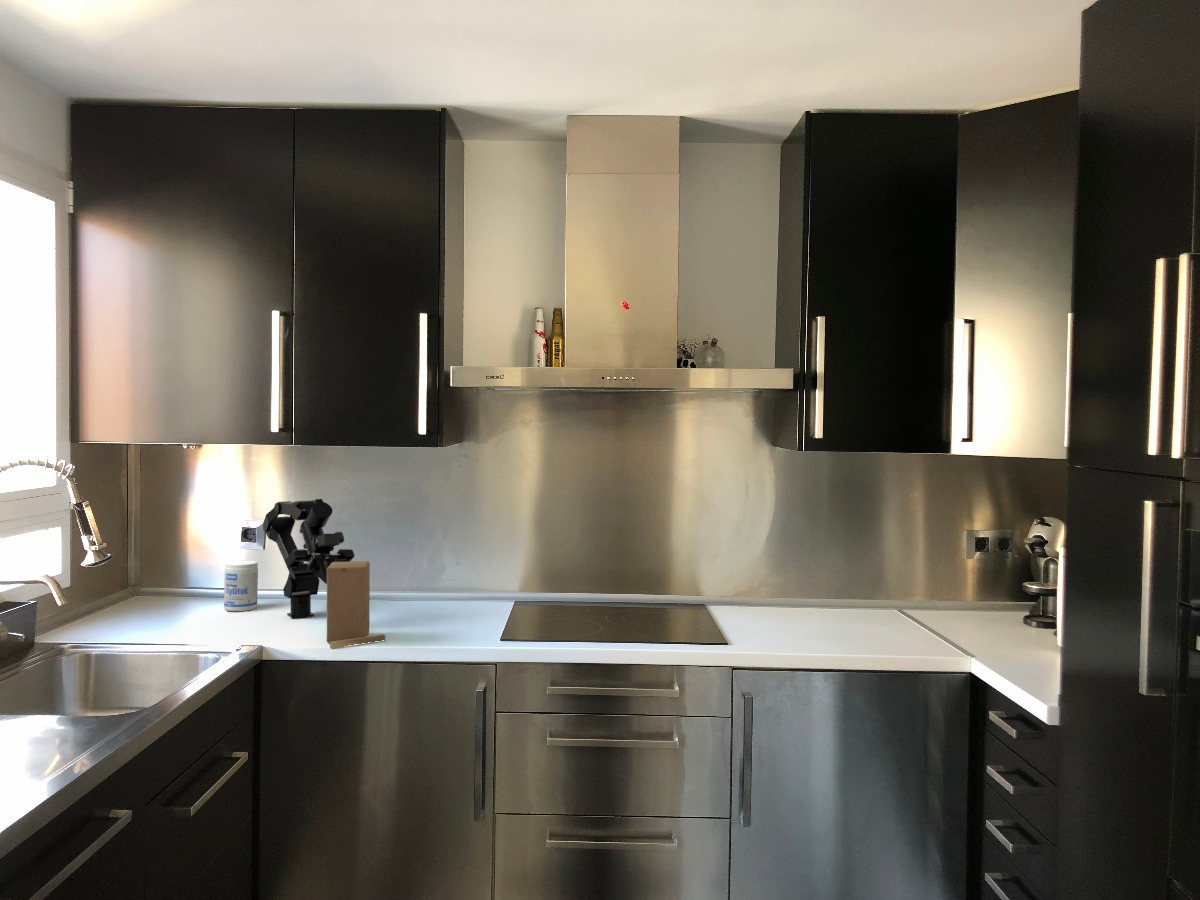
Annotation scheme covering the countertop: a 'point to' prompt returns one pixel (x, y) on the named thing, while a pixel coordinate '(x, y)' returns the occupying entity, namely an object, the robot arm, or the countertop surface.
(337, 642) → the oak batten
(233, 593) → the supplement tub
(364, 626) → the wooden block
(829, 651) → the countertop surface
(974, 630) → the countertop surface
